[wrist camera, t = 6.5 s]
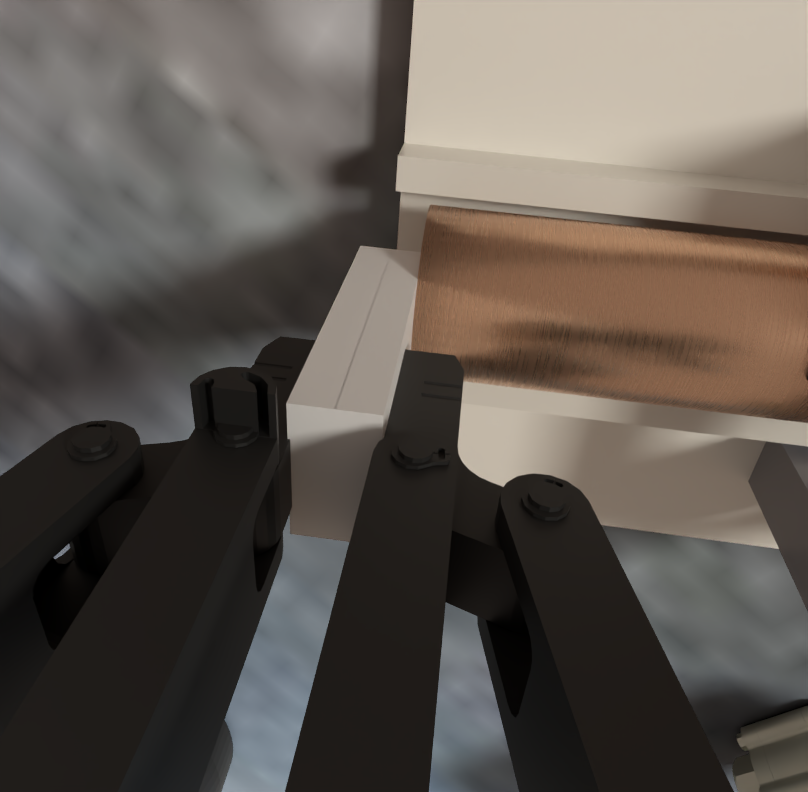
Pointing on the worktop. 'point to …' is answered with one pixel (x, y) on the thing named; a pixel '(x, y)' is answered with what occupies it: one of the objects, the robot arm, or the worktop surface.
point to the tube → (617, 311)
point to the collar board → (623, 221)
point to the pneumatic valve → (774, 754)
